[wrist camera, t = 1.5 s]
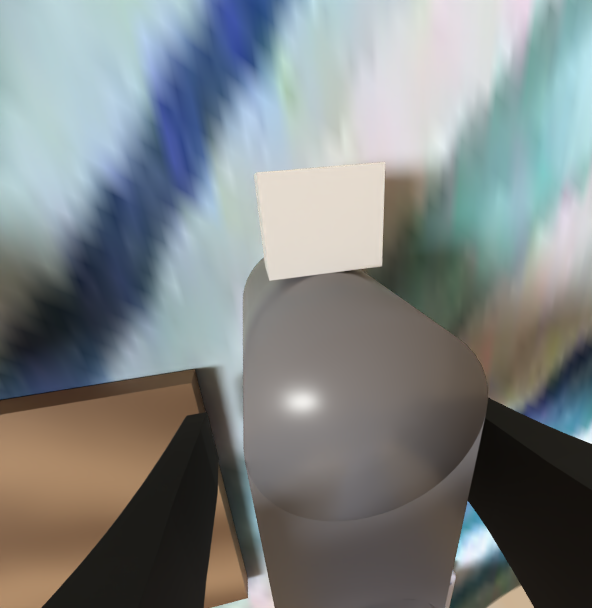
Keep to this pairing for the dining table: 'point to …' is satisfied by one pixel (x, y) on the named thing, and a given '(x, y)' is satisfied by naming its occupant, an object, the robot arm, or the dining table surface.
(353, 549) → the grey rounded piece
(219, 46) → the dining table surface
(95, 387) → the walnut board
